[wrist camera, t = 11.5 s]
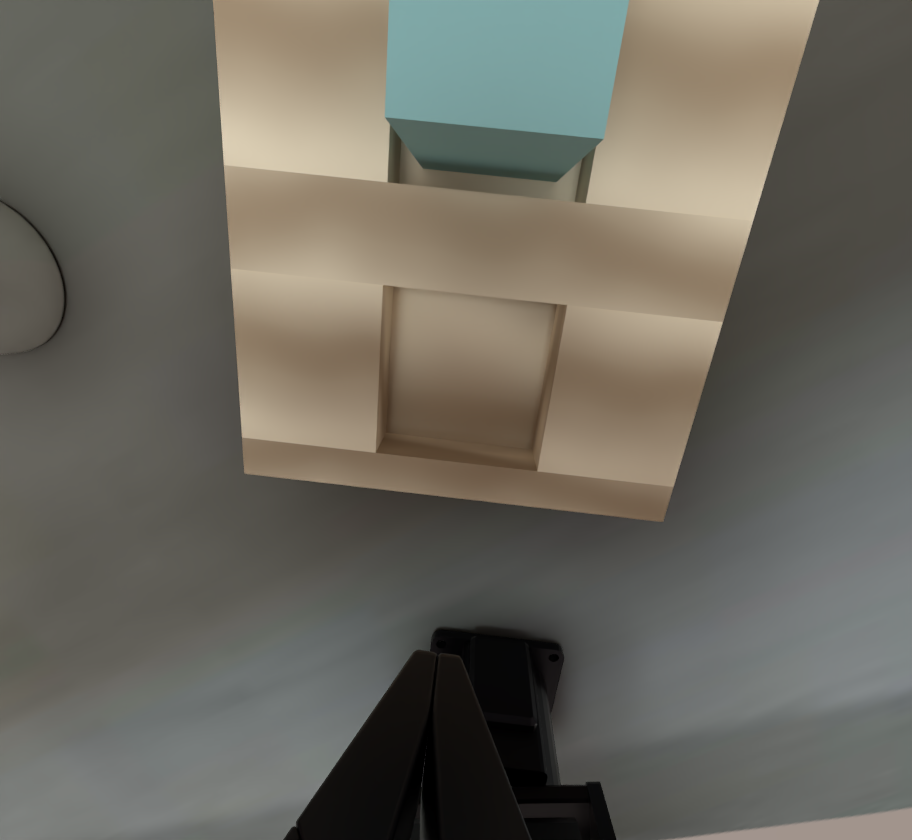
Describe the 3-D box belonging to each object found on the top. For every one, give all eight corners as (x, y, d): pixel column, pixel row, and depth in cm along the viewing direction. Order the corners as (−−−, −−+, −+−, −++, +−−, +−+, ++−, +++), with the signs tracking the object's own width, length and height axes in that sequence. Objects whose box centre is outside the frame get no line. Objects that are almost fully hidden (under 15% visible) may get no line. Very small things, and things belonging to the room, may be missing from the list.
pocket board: (641, 489, 20) (663, 522, 17) (272, 447, 20) (244, 473, 18) (789, -53, 14) (853, -115, 11) (249, -104, 14) (201, -176, 11)
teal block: (556, 182, 16) (603, 138, 9) (423, 168, 16) (384, 117, 10) (581, 15, 14) (659, -165, 8) (433, 1, 14) (396, -188, 8)
